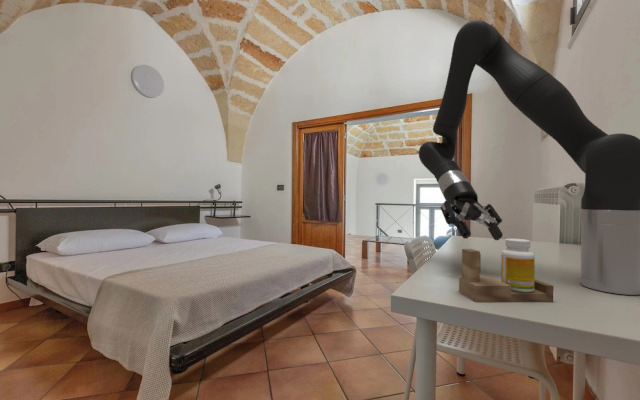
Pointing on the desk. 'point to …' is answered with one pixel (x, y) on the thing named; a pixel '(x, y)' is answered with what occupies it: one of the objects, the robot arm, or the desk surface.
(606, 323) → the desk surface
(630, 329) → the desk surface
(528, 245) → the supplement bottle
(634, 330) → the desk surface
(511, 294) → the wooden stand
